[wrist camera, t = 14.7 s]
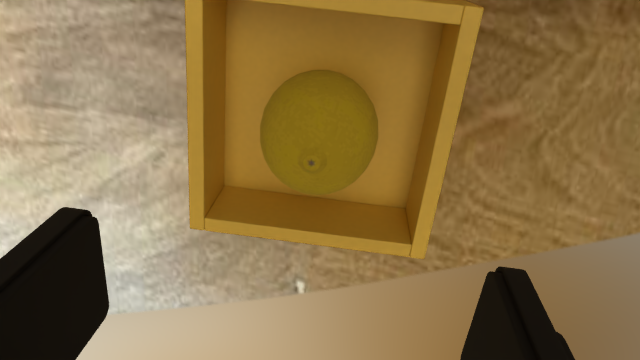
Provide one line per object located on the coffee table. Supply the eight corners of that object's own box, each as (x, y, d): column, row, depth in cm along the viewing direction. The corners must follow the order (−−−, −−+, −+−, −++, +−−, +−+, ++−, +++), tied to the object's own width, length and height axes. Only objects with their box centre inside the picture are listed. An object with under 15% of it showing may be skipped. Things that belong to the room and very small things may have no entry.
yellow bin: (462, -1, 24) (484, 7, 19) (415, 216, 29) (424, 259, 25) (214, -30, 24) (183, -27, 20) (213, 190, 29) (189, 229, 25)
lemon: (394, 83, 25) (407, 133, 18) (348, 168, 27) (344, 243, 20) (299, 37, 24) (272, 70, 17) (260, 129, 27) (223, 191, 19)
